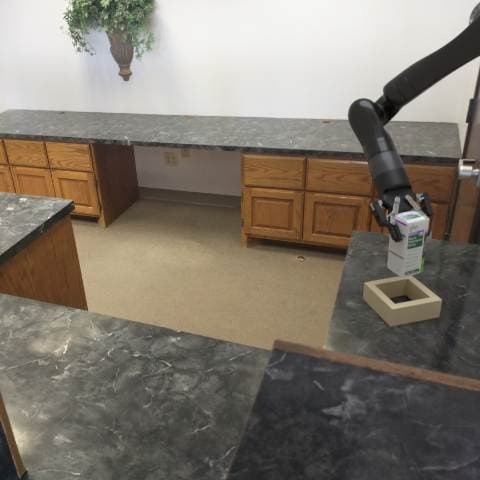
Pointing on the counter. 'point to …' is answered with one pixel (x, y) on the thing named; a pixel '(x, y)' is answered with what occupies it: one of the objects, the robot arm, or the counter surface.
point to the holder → (406, 312)
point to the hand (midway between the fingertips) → (412, 238)
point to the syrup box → (409, 244)
